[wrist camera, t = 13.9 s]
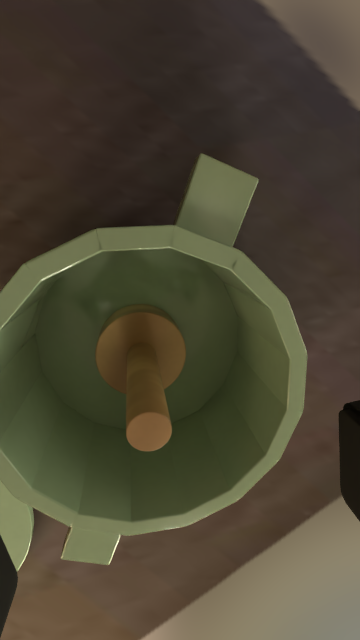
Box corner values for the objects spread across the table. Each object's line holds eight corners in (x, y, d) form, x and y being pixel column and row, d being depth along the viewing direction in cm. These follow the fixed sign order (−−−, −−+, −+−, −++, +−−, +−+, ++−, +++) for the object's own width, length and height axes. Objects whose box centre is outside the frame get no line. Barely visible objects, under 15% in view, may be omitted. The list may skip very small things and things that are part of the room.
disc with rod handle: (192, 318, 20) (240, 386, 11) (165, 389, 21) (190, 502, 12) (112, 292, 19) (98, 347, 10) (87, 369, 20) (56, 478, 11)
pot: (297, 230, 20) (391, 232, 13) (189, 482, 24) (215, 592, 17) (73, 136, 17) (32, 68, 10) (-8, 445, 21) (-80, 560, 14)
